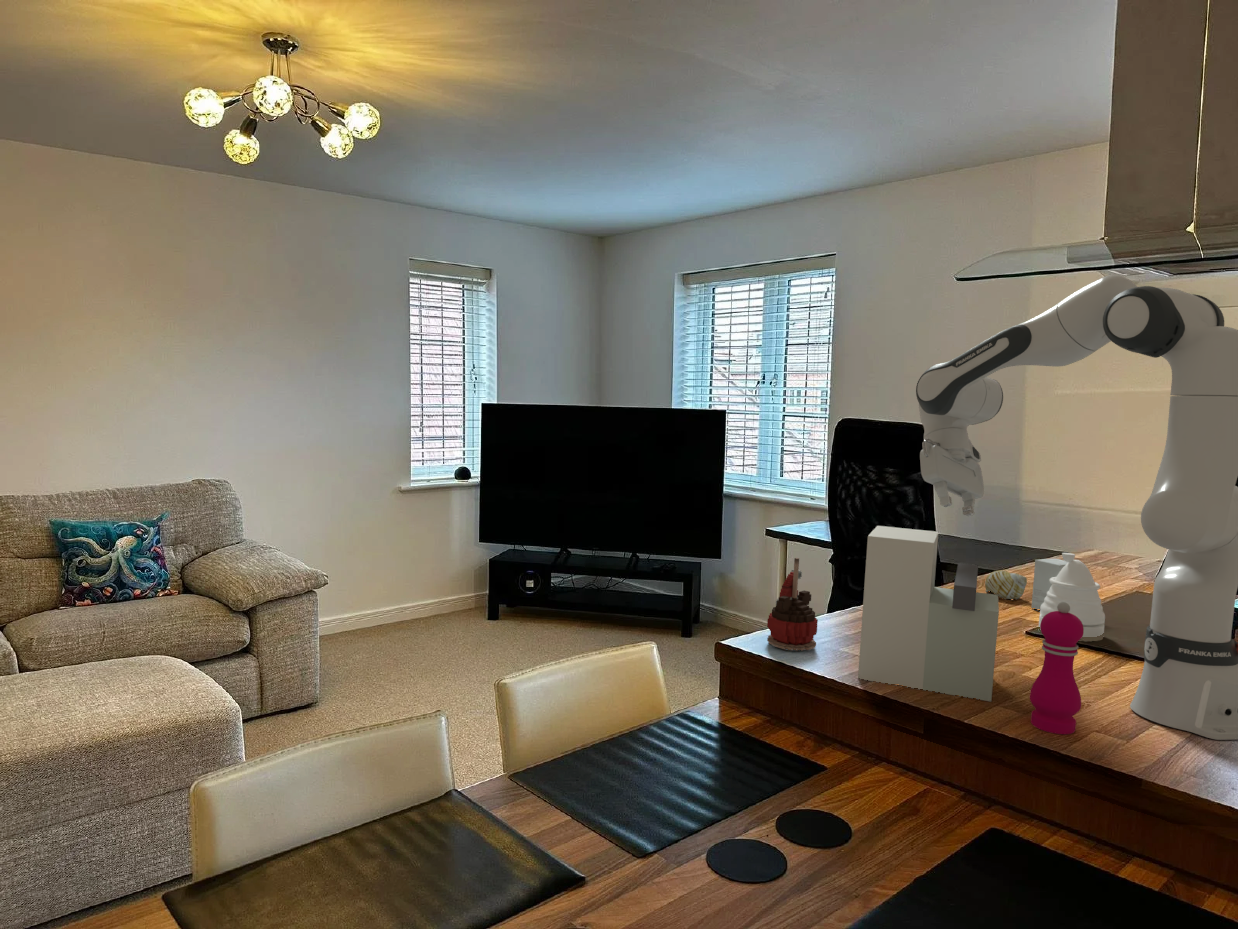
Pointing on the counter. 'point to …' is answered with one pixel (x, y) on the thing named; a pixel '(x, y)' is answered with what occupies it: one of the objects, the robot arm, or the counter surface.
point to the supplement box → (1044, 578)
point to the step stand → (922, 621)
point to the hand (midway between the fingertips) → (958, 510)
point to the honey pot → (1076, 596)
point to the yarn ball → (1006, 584)
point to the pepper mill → (1057, 673)
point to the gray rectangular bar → (965, 587)
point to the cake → (792, 616)
